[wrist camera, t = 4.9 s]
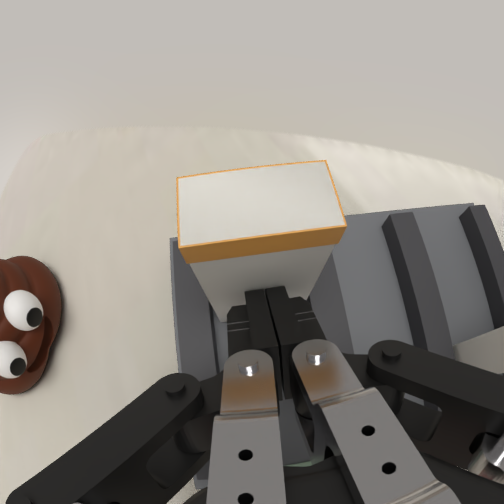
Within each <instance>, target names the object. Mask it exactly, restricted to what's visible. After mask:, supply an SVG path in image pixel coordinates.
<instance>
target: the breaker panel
mask: <svg viewBox="0 0 504 504" xmlns="http://www.w3.org/2000/svg"><path fill="white" fill-rule="evenodd" d="M344 217H345V220H346V224H347V228H346V230H345V232H344V234H343V236H342V238H341V240H340V242H339V243H338V244H335V246H334V248H333V250H332V252H331V254H330V256H329V258H328V260H327V262H326V264H325V266H324V267H323V269H322V271H321V273H320V275H319V277H318V279H317V281H316V283H315V285H314V287H313V289H312V290H311V292H310V294H309V296H308V298H307V300H306V301H308V302H309V304H310V306H311V308H312V310H313V312H314V314H315V316H316V318H317V320H318V322H319V324H320V326H321V328H322V331H323V333H324V335H325V337H326V339H327V341H330V342H332V343H333V344H335V345H336V346H337V347H338V348H339V350H340V351H341V352H342V353H346V354H368V351H369V349H370V348H371V346H372V345H374V344H375V343H377V342H379V341H383V340H397V341H401V342H404V343H407V344H410V345H413V346H415V347H418V348H421V349H424V350H427V351H430V352H433V353H436V354H439V355H442V356H445V357H448V358H450V359H453V360H456V361H459V362H462V363H466V364H469V365H472V366H475V367H478V368H481V369H484V370H487V371H490V372H493V373H496V374H499V375H503V376H504V251H503V249H502V246H501V243H500V241H499V238H498V235H497V233H496V230H495V228H494V225H493V223H492V221H491V218H490V216H489V214H488V211H487V209H486V207H485V205H475V206H474V203H467V204H456V205H445V206H434V207H424V208H413V209H403V210H394V211H384V212H375V213H365V214H356V215H347V216H344ZM170 260H171V282H172V299H173V314H174V327H175V340H176V351H177V361H178V371H179V373H186V374H190V375H192V376H194V377H195V378H197V380H198V381H202V380H205V379H208V378H211V377H213V376H215V375H217V374H219V373H220V372H221V371H222V370H223V369H224V365H225V362H226V361H227V359H228V336H227V322H220V320H219V318H218V316H217V314H216V313H215V311H214V309H213V307H212V305H211V303H210V302H209V300H208V298H207V296H206V294H205V292H204V290H203V289H202V287H201V285H200V283H199V281H198V279H197V277H196V275H195V273H194V272H193V270H192V268H191V266H190V264H187V263H186V262H185V260H184V258H183V256H182V254H181V252H180V250H179V248H178V237H175V238H170ZM282 395H283V400H282V401H279V407H280V415H279V428H280V439H281V449H282V460H283V466H299V467H306V466H311V465H312V463H311V460H310V457H309V454H308V451H307V448H306V446H305V443H304V440H303V437H302V435H301V432H300V429H299V426H298V424H297V421H296V418H295V406H294V402H293V399H287V400H285V397H284V393H283V388H282ZM404 398H406V399H408V400H411V401H413V402H416V403H418V404H421V405H423V406H426V407H428V408H431V409H433V410H436V411H441V412H442V410H441V409H440V408H439V407H438V406H437V405H435V404H432V403H430V402H427V401H425V400H422V399H419V398H417V397H414V396H412V395H409V394H407V393H405V396H404ZM209 466H210V460H209V461H208V462H207V463H206V464H205V465H204V466H203V467H202V468H201V469H200V470H199V471H198V472H197V473H196V474H195V475H194V476H193V477H194V482H195V488H196V489H203V488H205V487H207V486H208V478H209Z"/></svg>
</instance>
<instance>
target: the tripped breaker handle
mask: <svg viewBox="0 0 504 504" xmlns="http://www.w3.org/2000/svg"><path fill="white" fill-rule="evenodd" d="M176 181H177V226H178V248H179V250H180V252H181V254H182V256H183V258H184V260H185V262H186V263H187V264H190V266H191V268H192V270H193V272H194V273H195V275H196V277H197V279H198V281H199V283H200V285H201V287H202V289H203V290H204V292H205V294H206V296H207V298H208V300H209V302H210V303H211V305H212V307H213V309H214V311H215V313H216V314H217V316H218V318H219V320H220V322H227V313H228V312H229V310H230V309H231V307H232V306H239V305H246V300H245V293H244V292H245V291H252V290H259V289H264V293H265V289H266V288H272V287H279V286H285V288H286V291H287V293H288V296H289V298H293V297H299V296H300V297H302V298H303V299H305V300H307V298H308V296H309V294H310V292H311V290H312V289H313V287H314V285H315V283H316V281H317V279H318V277H319V275H320V273H321V271H322V269H323V267H324V266H325V264H326V262H327V260H328V258H329V256H330V254H331V252H332V250H333V248H334V246H335V244H338V243H339V242H340V240H341V238H342V236H343V234H344V232H345V230H346V228H347V224H346V220H345V217H344V214H343V210H342V207H341V204H340V201H339V198H338V194H337V191H336V188H335V185H334V182H333V179H332V176H331V173H330V170H329V167H328V164H327V161H326V160H321V161H308V162H296V163H285V164H275V165H266V166H257V167H248V168H240V169H232V170H224V171H217V172H210V173H203V174H196V175H189V176H183V177H177V178H176Z"/></svg>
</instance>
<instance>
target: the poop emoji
mask: <svg viewBox="0 0 504 504" xmlns="http://www.w3.org/2000/svg"><path fill="white" fill-rule="evenodd" d="M60 319H61V296H60V291H59V287H58V284H57V282H56V280H55V278H54V276H53V274H52V273H51V272H50V270H49V269H48V268H47V267H46V266H45V265H44V264H43V263H41V262H40V261H38V260H37V259H34V258H32V257H28V256H16V257H12V258H9V259H7V260H4V259H0V393H3V394H19V393H22V392H25V391H27V390H28V389H30V388H31V387H32V386H33V385H34V384H35V383H36V382H37V381H38V380H39V378H40V377H41V375H42V373H43V371H44V369H45V366H46V363H47V359H48V354H49V348H50V346H51V345H52V343H53V341H54V339H55V336H56V334H57V331H58V328H59V324H60Z"/></svg>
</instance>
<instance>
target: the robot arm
mask: <svg viewBox="0 0 504 504" xmlns="http://www.w3.org/2000/svg"><path fill="white" fill-rule="evenodd" d="M244 293H245V300H246V305H239V306H232V307H231V309H230V310H229V312H228V313H227V336H228V359H227V361H226V362H225V365H224V369H223V370H222V371H221V372H220V373H219V374H217V375H215V376H213V377H211V378H208V379H205V380H202V381H198V380H197V378H195V377H194V376H192V375H190V374H186V373H174V374H170V375H167V376H165V377H163V378H161V379H160V380H158V381H157V382H156V383H155V384H154V385H152V386H151V387H150V388H149V389H147V390H146V391H145V392H144V393H142V394H141V395H140V396H139V397H137V398H136V399H135V400H134V401H132V402H131V403H130V404H129V405H127V406H126V407H125V408H124V409H122V410H121V411H120V412H118V413H117V414H116V415H115V416H113V417H112V418H111V419H110V420H108V421H107V422H106V423H104V424H103V425H102V426H101V427H99V428H98V429H97V430H95V431H94V432H93V433H91V434H90V435H89V436H87V437H86V438H85V439H84V440H82V441H81V442H80V443H78V444H77V445H76V446H74V447H73V448H72V449H70V450H69V451H68V452H66V453H65V454H64V455H62V456H61V457H60V458H58V459H57V460H56V461H54V462H53V463H51V464H50V465H49V466H47V467H46V468H45V469H43V470H42V471H41V472H39V473H38V474H36V475H35V476H34V477H32V478H31V479H29V480H28V481H27V482H25V483H24V484H22V485H21V486H20V487H18V488H17V489H15V490H14V491H13V492H12V493H11V494H10V495H9V497H8V498H7V500H6V504H166V503H167V502H168V501H169V500H170V499H171V498H172V497H173V496H175V495H176V494H177V493H178V492H179V491H180V490H181V489H182V488H183V487H184V486H185V485H186V484H187V483H188V482H189V481H190V480H191V479H192V478H193V476H194V475H195V474H196V473H197V472H198V471H199V470H200V469H201V468H202V467H203V466H204V465H205V464H206V463H207V462H208V461H209V460H210V466H209V478H208V486H207V487H205V488H203V489H202V490H200V491H198V492H197V493H195V494H194V495H193V496H191V497H190V498H189V499H188V500H186V501H185V502H184V503H183V504H504V376H503V375H499V374H496V373H493V372H490V371H487V370H484V369H481V368H478V367H475V366H472V365H469V364H466V363H462V362H459V361H456V360H453V359H450V358H448V357H445V356H442V355H439V354H436V353H433V352H430V351H427V350H424V349H421V348H418V347H415V346H413V345H410V344H407V343H404V342H401V341H397V340H383V341H379V342H377V343H375V344H374V345H372V346H371V348H370V349H369V351H368V354H346V353H342V352H341V351H340V350H339V348H338V347H337V346H336V345H335V344H333V343H332V342H330V341H327V339H326V337H325V335H324V333H323V331H322V328H321V326H320V324H319V322H318V320H317V318H316V316H315V314H314V312H313V310H312V308H311V306H310V304H309V302H308V301H306V300H305V299H303V298H302V297H300V296H299V297H293V298H289V296H288V293H287V291H286V288H285V286H279V287H272V288H266V289H265V293H264V289H259V290H252V291H245V292H244ZM282 388H283V393H284V397H285V400H287V399H293V402H294V406H295V418H296V421H297V424H298V426H299V429H300V432H301V435H302V437H303V440H304V443H305V446H306V448H307V451H308V454H309V457H310V460H311V463H312V465H311V466H306V467H299V466H283V460H282V449H281V439H280V428H279V415H280V407H279V401H282V400H283V395H282ZM405 393H407V394H409V395H412V396H414V397H417V398H419V399H422V400H425V401H427V402H430V403H432V404H435V405H437V406H438V407H439V408H440V409H441V410H442V412H441V411H436V410H433V409H431V408H428V407H426V406H423V405H421V404H418V403H416V402H413V401H411V400H408V399H406V398H404V396H405ZM457 466H458V467H457ZM462 468H463V469H462ZM465 469H466V470H465ZM467 470H468V471H467Z"/></svg>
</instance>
